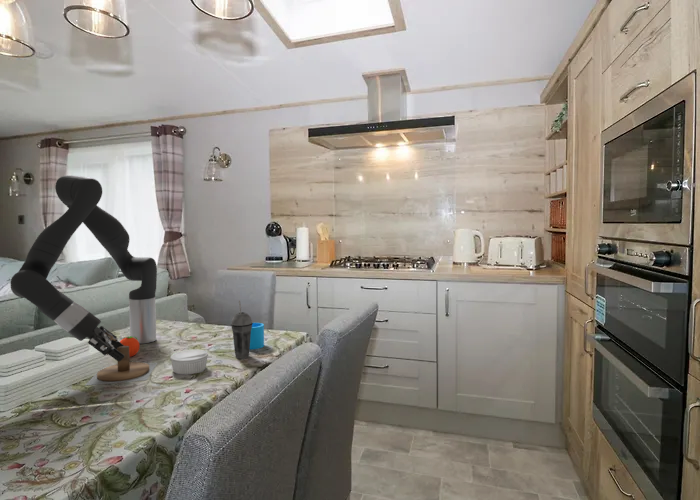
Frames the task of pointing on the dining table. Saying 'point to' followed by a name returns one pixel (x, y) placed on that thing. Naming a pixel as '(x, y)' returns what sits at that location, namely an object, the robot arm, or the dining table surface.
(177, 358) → the ramekin
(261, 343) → the mug
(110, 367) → the walnut lid
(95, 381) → the slate mat
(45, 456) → the dining table surface
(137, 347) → the clementine
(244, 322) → the beverage cup
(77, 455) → the dining table surface
